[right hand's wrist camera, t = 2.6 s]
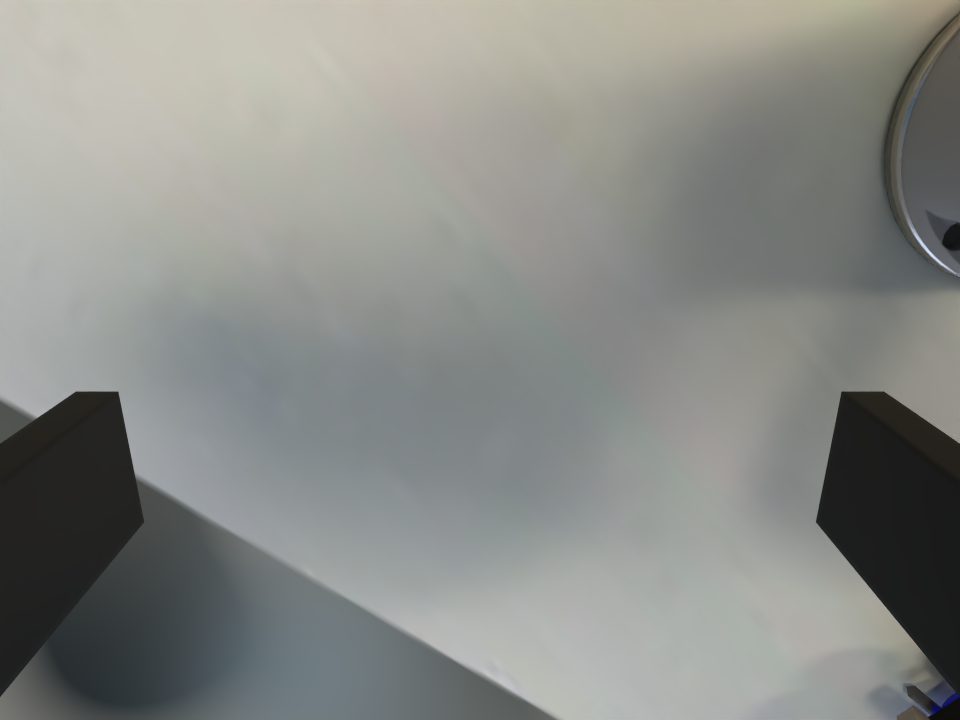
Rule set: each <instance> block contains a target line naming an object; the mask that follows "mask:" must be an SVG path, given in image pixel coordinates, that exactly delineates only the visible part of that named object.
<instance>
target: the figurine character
mask: <svg viewBox="0 0 960 720" xmlns="http://www.w3.org/2000/svg"><path fill="white" fill-rule="evenodd" d="M907 692H908V696H909V697H910V698H912V699H913V700H914V701H915V702H916V703H918V704H919V705H920V706H921V707H922V708H924V709H925V710H926V711H927V712H929V713H930V714H931V716H929V717H927V716H926V715H925V714H924V713H923V712H922V711H921V710H919V709H918V708H917V707H915V706H912V707H910V708H909V709H907V710H906V711H904V712H903V713H901V714H900V715H898V716H897V720H960V696H959V695H958V694H957V693H955V694H953V695H952V696H950V697H949V698H948V699H947V700H946V701H945V703H944V704H943V706H942V708H941V707H940V706H938V705H937V704H936V703H934V702H933V701H932V700H931V699H930V698H928V697H927V696H926V695H925V694H924V693H922V692H921V691H920V690H919V689H918V688H916V686H907Z"/></svg>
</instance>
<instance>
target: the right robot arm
mask: <svg viewBox="0 0 960 720" xmlns="http://www.w3.org/2000/svg"><path fill="white" fill-rule="evenodd" d="M885 180H886V187H887V194H888V198H889V202H890V206H891V209H892V211H893V214H894V217H895V219H896V221H897V223H898V225H899V227H900V229H901V231H902V233H903V234H904V236H905V237H906V238H907V240H908V241H909V243H910V244H911V245H912V246H913V247H914V248H915V250H916V251H917V252H918V253H919V254H920V255H922V256H923V257H924V258H925V259H926V260H927V261H929V262H930V263H932V264H933V265H935V266H936V267H938V268H939V269H941V270H943V271H945V272H947V273H949V274H952V275H954V276H957V277H959V278H960V14H959V15H958V16H957V17H956V18H955V19H954V20H953V21H952V22H951V23H950V24H949V25H948V26H947V27H946V28H945V29H944V30H943V31H942V32H941V33H940V34H939V35H938V37H937V38H936V39H935V40H934V41H933V42H932V44H931V45H930V46H929V48H928V49H927V50H926V52H925V53H924V54H923V56H922V57H921V59H920V60H919V62H918V63H917V65H916V67H915V68H914V70H913V71H912V73H911V75H910V77H909V79H908V81H907V83H906V84H905V86H904V88H903V91H902V93H901V95H900V98H899V100H898V102H897V105H896V108H895V111H894V114H893V117H892V121H891V125H890V129H889V133H888V138H887V145H886V154H885ZM143 523H144V519H143V514H142V509H141V504H140V499H139V494H138V489H137V484H136V479H135V474H134V469H133V464H132V459H131V454H130V449H129V444H128V438H127V433H126V428H125V423H124V418H123V413H122V408H121V403H120V398H119V393H118V392H75V393H73V394H72V395H70V396H69V397H68V398H66V399H65V400H63V401H62V402H60V403H59V404H57V405H56V406H54V407H53V408H52V409H50V410H49V411H47V412H46V413H44V414H43V415H41V416H40V417H38V418H37V419H36V420H34V421H33V422H31V423H30V424H28V425H27V426H25V427H24V428H23V429H21V430H20V431H18V432H17V433H15V434H14V435H12V436H11V437H9V438H8V439H7V440H5V441H4V442H2V443H1V444H0V696H1V695H2V694H3V693H4V692H5V690H6V689H7V688H8V687H9V685H10V684H11V683H12V682H13V681H14V679H15V678H16V677H17V676H18V674H19V673H20V672H21V671H22V670H23V669H24V667H25V666H26V665H27V664H28V662H29V661H30V660H31V659H32V658H33V656H34V655H35V654H36V653H37V652H38V650H39V649H40V648H41V647H42V645H43V644H44V643H45V642H46V641H47V639H48V638H49V637H50V636H51V634H52V633H53V632H54V631H55V630H56V628H57V627H58V626H59V625H60V624H61V622H62V621H63V620H64V619H65V617H66V616H67V615H68V614H69V613H70V611H71V610H72V609H73V608H74V607H75V605H76V604H77V603H78V602H79V600H80V599H81V598H82V597H83V596H84V594H85V593H86V592H87V591H88V590H89V588H90V587H91V586H92V585H93V583H94V582H95V581H96V580H97V579H98V577H99V576H100V575H101V574H102V572H103V571H104V570H105V569H106V568H107V566H108V565H109V564H110V563H111V562H112V560H113V559H114V558H115V557H116V555H117V554H118V553H119V552H120V551H121V549H122V548H123V547H124V546H125V545H126V543H127V542H128V541H129V540H130V538H131V537H132V536H133V535H134V534H135V532H136V531H137V530H138V529H139V528H140V526H141V525H142V524H143ZM816 523H817V524H818V525H819V526H820V528H821V529H822V530H823V531H824V532H825V534H826V535H827V536H828V537H829V538H830V540H831V541H832V542H833V543H834V545H835V546H836V547H837V548H838V549H839V551H840V552H841V553H842V554H843V555H844V557H845V558H846V559H847V560H848V562H849V563H850V564H851V565H852V566H853V568H854V569H855V570H856V571H857V573H858V574H859V575H860V576H861V577H862V579H863V580H864V581H865V582H866V583H867V585H868V586H869V587H870V588H871V590H872V591H873V592H874V593H875V594H876V596H877V597H878V598H879V599H880V600H881V602H882V603H883V604H884V605H885V607H886V608H887V609H888V610H889V611H890V613H891V614H892V615H893V616H894V617H895V619H896V620H897V621H898V622H899V624H900V625H901V626H902V627H903V628H904V630H905V631H906V632H907V633H908V634H909V636H910V637H911V638H912V639H913V641H914V642H915V643H916V644H917V645H918V647H919V648H920V649H921V650H922V652H923V653H924V654H925V655H926V656H927V658H928V659H929V660H930V661H931V662H932V664H933V665H934V666H935V667H936V669H937V670H938V671H939V672H940V673H941V675H942V676H943V677H944V678H945V679H946V681H947V682H948V683H949V684H950V686H951V687H952V688H953V689H954V690H955V692H956V693H957V694H958V695H959V696H960V444H959V443H958V442H956V441H955V440H954V439H952V438H951V437H949V436H948V435H946V434H945V433H943V432H942V431H940V430H939V429H938V428H936V427H935V426H933V425H932V424H930V423H929V422H927V421H926V420H924V419H923V418H922V417H920V416H919V415H917V414H916V413H914V412H913V411H911V410H910V409H908V408H907V407H906V406H904V405H903V404H901V403H900V402H898V401H897V400H895V399H894V398H892V397H891V396H890V395H888V394H887V393H885V392H842V393H841V398H840V403H839V408H838V413H837V418H836V423H835V428H834V433H833V438H832V443H831V449H830V454H829V459H828V464H827V469H826V474H825V479H824V484H823V489H822V494H821V499H820V504H819V509H818V514H817V519H816Z"/></svg>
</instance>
